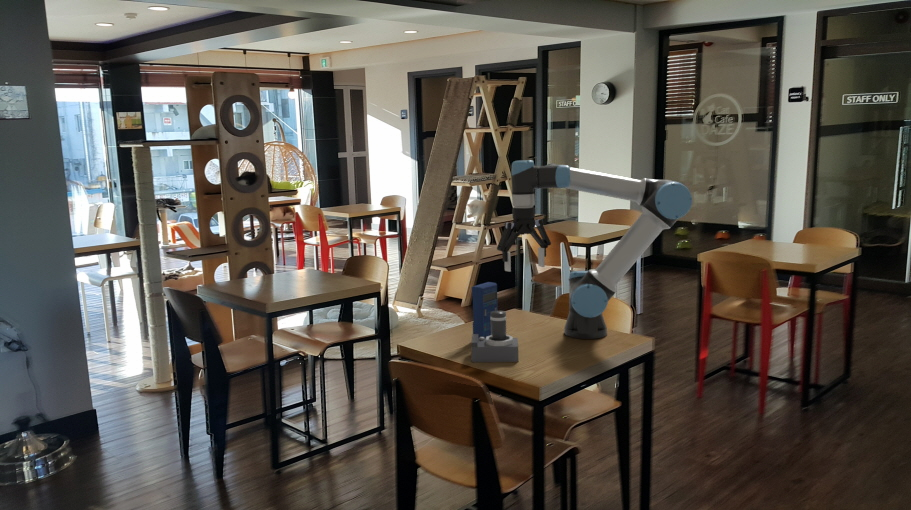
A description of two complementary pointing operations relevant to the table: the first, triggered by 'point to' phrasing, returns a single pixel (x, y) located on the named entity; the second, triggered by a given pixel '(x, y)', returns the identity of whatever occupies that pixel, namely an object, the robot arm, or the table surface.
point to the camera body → (494, 349)
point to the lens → (498, 325)
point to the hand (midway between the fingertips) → (524, 268)
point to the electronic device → (483, 307)
